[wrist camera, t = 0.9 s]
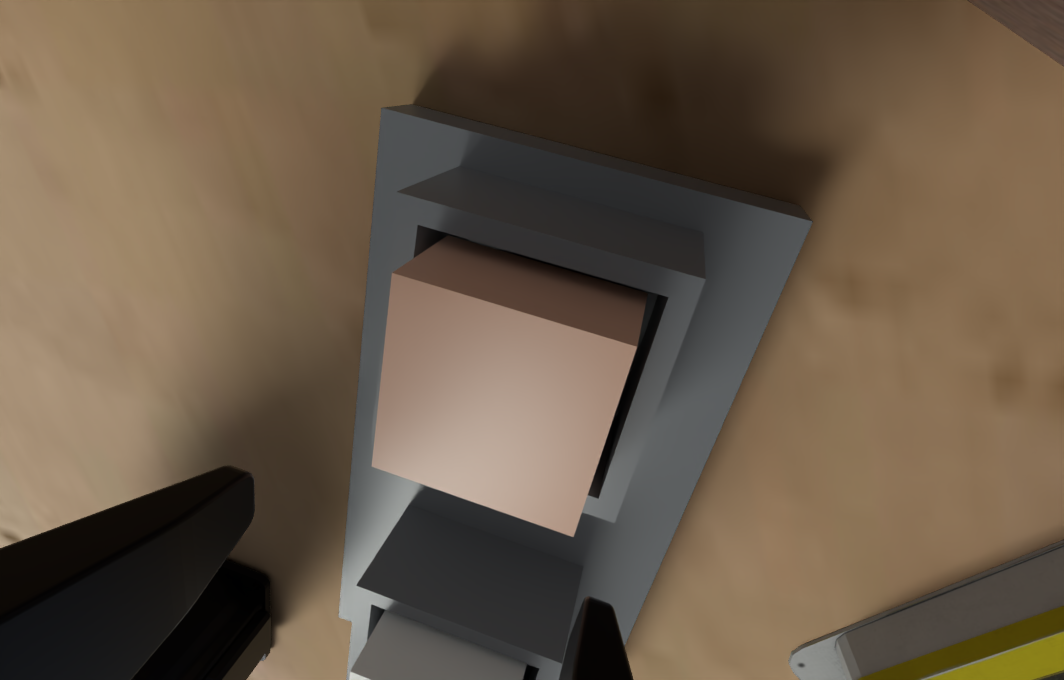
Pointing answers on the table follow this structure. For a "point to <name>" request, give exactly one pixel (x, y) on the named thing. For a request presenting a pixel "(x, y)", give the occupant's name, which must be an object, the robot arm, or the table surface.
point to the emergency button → (956, 631)
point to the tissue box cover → (1031, 22)
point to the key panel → (645, 404)
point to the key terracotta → (502, 378)
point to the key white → (428, 655)
